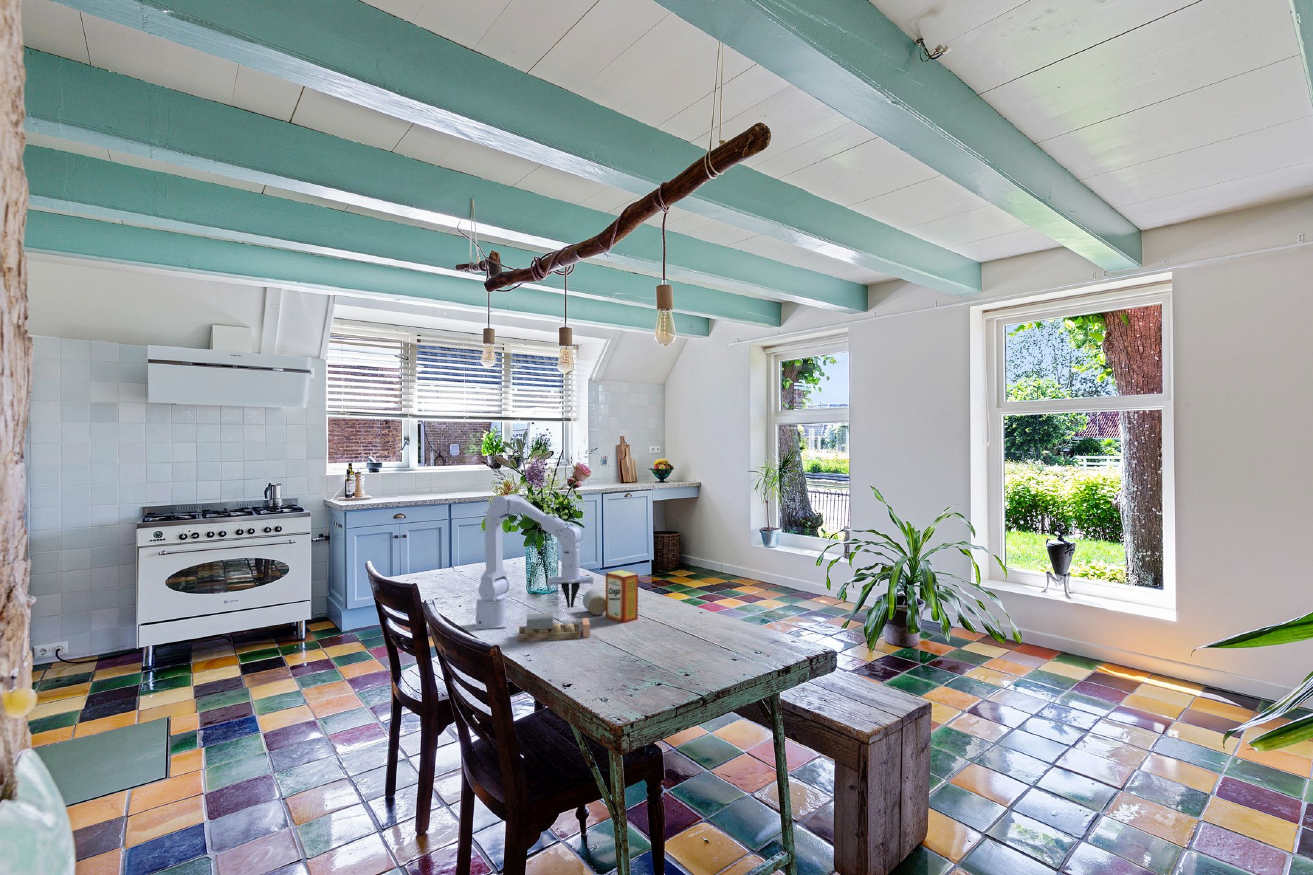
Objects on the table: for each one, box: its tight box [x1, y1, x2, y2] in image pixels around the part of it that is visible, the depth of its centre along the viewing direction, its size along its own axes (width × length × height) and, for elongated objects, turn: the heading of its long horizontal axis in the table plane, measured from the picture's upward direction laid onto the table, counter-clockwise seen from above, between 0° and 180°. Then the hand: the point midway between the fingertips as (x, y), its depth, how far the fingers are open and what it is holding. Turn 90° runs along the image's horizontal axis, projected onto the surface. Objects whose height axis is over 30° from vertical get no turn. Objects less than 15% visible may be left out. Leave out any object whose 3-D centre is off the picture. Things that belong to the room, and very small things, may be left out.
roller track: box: [517, 622, 581, 643], centre depth 200 cm, size 19×9×3 cm, turn 101°
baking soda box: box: [605, 569, 639, 624], centre depth 220 cm, size 10×6×16 cm
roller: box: [564, 622, 575, 632], centre depth 202 cm, size 6×3×3 cm, turn 11°
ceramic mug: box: [582, 589, 606, 616], centre depth 226 cm, size 11×8×8 cm
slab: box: [526, 612, 554, 630], centre depth 200 cm, size 8×6×3 cm
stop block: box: [581, 617, 591, 638], centre depth 202 cm, size 2×7×4 cm, turn 10°
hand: (570, 606), depth 201 cm, fingers closed
